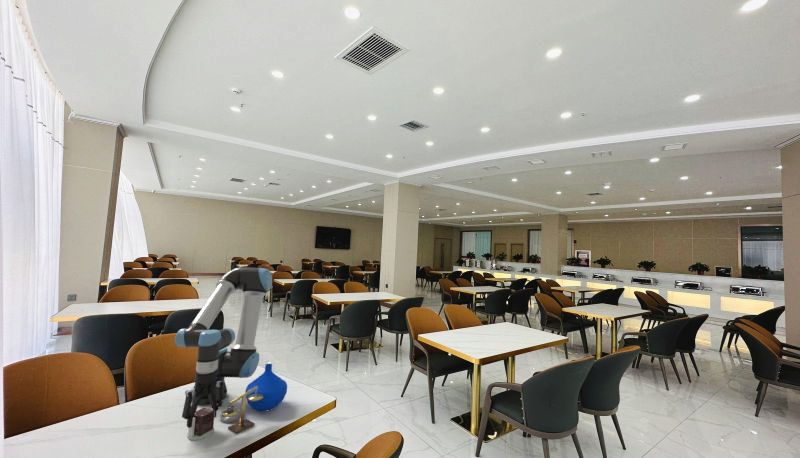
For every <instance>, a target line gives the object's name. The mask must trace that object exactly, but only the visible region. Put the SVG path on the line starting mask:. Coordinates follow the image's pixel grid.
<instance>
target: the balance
mask: <svg viewBox="0 0 800 458" xmlns="http://www.w3.org/2000/svg"><path fill="white" fill-rule="evenodd" d="M257 389H258V387H257V386H256V387H254V388H252V389H250V390H249V391H247V392H245V391H244V393H242V394H240V395H239V396H237V397H235V398H233V399H232V400H230V401H229V404H230V405H228V406H227V407H226V409H224V410H223V411H222V412H221V416H223V417H233V416H235V415H237V414H238V413H239V411H241V414H240V421H238V422H235V423H232V424H231V425H229V426H227V430H228V431H229V432H232V433H233V434H235V435H238V434H240V433H242V432H244V431H247V430H249V429H251V428H253V427H255V425H256V423H255V422H253V421H251V420H250V419H248V418H245V413H246V402H247V399H246V395H248V394H249V393H251V392H253V391H254V390H256V393H257ZM256 393H255V394H253V395H250V396H249V397H248V400H249V401H259V400H261V399H263V395H262V394H256ZM240 400H241V403H240V410H239V409H238V408H235V405H233V404H235V403H236V402H238V401H240Z"/></svg>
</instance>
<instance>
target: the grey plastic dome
mask: <svg viewBox="0 0 800 458" xmlns="http://www.w3.org/2000/svg"><path fill="white" fill-rule="evenodd" d="M240 414H241V410H239V413H238V414H237V415H235V416H233V417H223V416H222V415H221V416H220V419H219V420H220V422H221V423H222V424H226V425H227V424H236V423H238V422H240Z"/></svg>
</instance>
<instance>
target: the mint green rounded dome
mask: <svg viewBox="0 0 800 458" xmlns="http://www.w3.org/2000/svg"><path fill="white" fill-rule="evenodd" d="M214 432H215V427H213V429H212V430H210V431H209V432H207V433H205V434H203V435H202V436H197V435H194V436H192V437H191V436H190V435H188V433H187V435H186V438H187V439H188V440H189V441H202V440H205V439H208V438H209V437H211V436H213V434H214Z"/></svg>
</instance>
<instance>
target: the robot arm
mask: <svg viewBox="0 0 800 458" xmlns="http://www.w3.org/2000/svg"><path fill="white" fill-rule="evenodd" d="M272 285H273V276H272V271H270V269H268V268H264V267H263V268H262V267H244V266H240V267H235V268H233V269H231V270H229V271H228V272H225V274H223V276H221V277H220V278H219V279H218V281H217V282H216V283H215V288H214V290H213V291H212V293H211V294H210V296H209V298H208V299H207V300H206V301H205V303H204V305H203V306H202V308H201V309H200V310H199V312H198V313H197V315H196V316H195V318H194V319H193V320H192V322H191V323H190V324H189V326H188V327H185V328H181V329H178V331H177V332H176V334H175V337H174V343H175V345H176V346H177V347H180V348H187V349H188V348H197V358H196V364H195V365H196V367H195V371H196V372H195V376H194V386H193V388H191V389H190V390H188V389H187V390H186V391H184V392H185V400H184V404H183V410H182V415H181V418H183V419H184V420H186V427H187V428H188V429H187V434H188V435H190V436H191V437H192V436H194V427H195V418H194V414H195V412H196V411H198V407H199V406H207V405H211V408H210V409H211V410H214V419H215V418H217V413H218V411H219V409H220V407H222V406H223V401H224V400H225V399H227V397H228V388H227V384H226V381H225V378H238V379H245V378H246V379H247V378H251V377H252V376H253V375H254V373H255V372H256V370H257V367H258V365H259V364H260V363H259V361H260V353H259V352H257V349H258V348H257V347H256V345H255V342H256V341H255V340H256V336H257V330H258V324H259V319H260V314H261V308H262V302H263V298H264V296H266V295H267V292H268V291H270V290H271V289H272ZM237 290H242V294H243V295H244V299H243V304H242V309H241V313H240V320H239V323H238V325H239V326H238V330H237V334H236V333H235V331H234V330H233V329H232V328H229V327H227V328H222V329H210V327H211V326H212V325H213V323H214V321H215V319H216V318H217V317H218V315H219V314H220V313H221V310H222V309H223V307H224V305H225V304H226V302H227V301H228V299H229V297H230V296H231V295H233V294H234V293H235V292H236V291H237ZM234 341H235V344H234V345H233V346H232V347H231V348H230V351H228V347H229V346H230V345H231V344H232V343H234ZM223 399H224V400H223ZM214 426H215V421H214V422H213V427H214ZM214 428H215V427H214Z"/></svg>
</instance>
